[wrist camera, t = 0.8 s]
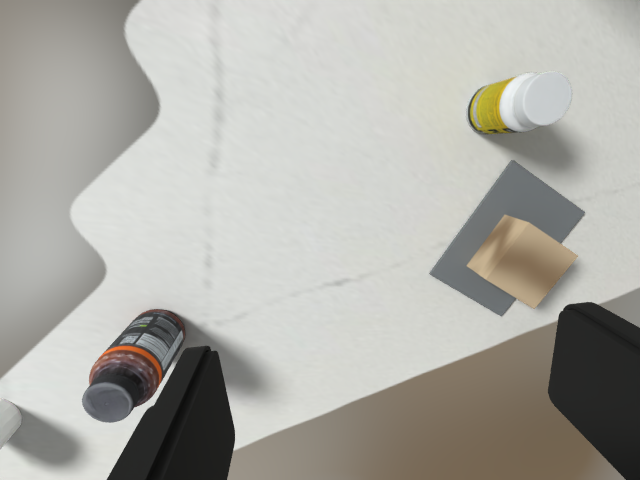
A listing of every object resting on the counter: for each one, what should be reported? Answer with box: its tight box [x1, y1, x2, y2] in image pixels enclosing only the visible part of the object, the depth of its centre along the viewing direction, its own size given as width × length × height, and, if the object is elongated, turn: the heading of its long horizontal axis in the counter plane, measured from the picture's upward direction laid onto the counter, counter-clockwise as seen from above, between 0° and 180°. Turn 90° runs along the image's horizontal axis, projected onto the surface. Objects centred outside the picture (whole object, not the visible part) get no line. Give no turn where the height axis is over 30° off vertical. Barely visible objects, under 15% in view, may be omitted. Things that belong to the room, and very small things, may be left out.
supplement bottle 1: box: [82, 309, 185, 422], centre depth 32 cm, size 6×6×11 cm
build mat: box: [429, 160, 585, 316], centre depth 37 cm, size 15×11×1 cm
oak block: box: [467, 215, 578, 309], centre depth 36 cm, size 7×7×4 cm
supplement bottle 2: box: [466, 71, 572, 134], centre depth 29 cm, size 5×5×8 cm
